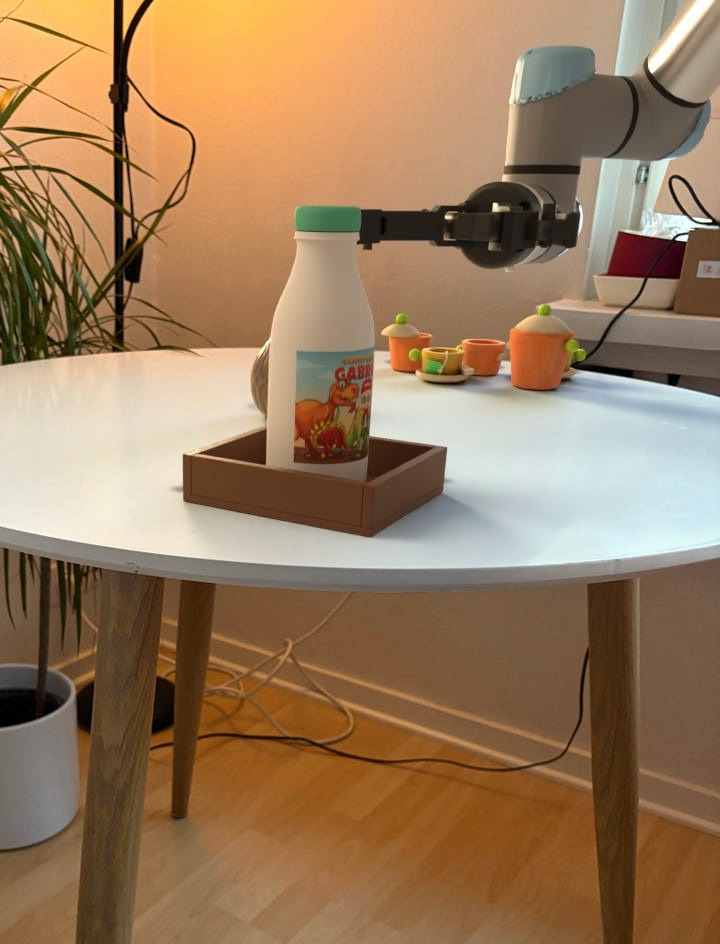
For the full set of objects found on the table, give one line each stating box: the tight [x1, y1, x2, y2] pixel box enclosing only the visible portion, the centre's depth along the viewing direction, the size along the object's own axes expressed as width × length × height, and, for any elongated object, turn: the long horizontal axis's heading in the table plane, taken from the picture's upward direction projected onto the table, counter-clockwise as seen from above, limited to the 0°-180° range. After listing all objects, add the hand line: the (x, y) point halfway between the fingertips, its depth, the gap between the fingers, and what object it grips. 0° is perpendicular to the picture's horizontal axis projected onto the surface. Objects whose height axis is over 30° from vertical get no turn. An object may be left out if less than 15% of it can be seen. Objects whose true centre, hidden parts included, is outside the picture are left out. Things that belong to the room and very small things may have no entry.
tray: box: [182, 424, 448, 538], centre depth 75 cm, size 16×14×4 cm
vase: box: [250, 337, 270, 418], centre depth 102 cm, size 7×7×9 cm
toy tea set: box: [381, 303, 587, 391], centre depth 125 cm, size 26×16×10 cm, turn 74°
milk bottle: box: [266, 205, 376, 482], centre depth 72 cm, size 8×8×20 cm
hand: (422, 229), depth 77 cm, fingers open, 13 cm apart
